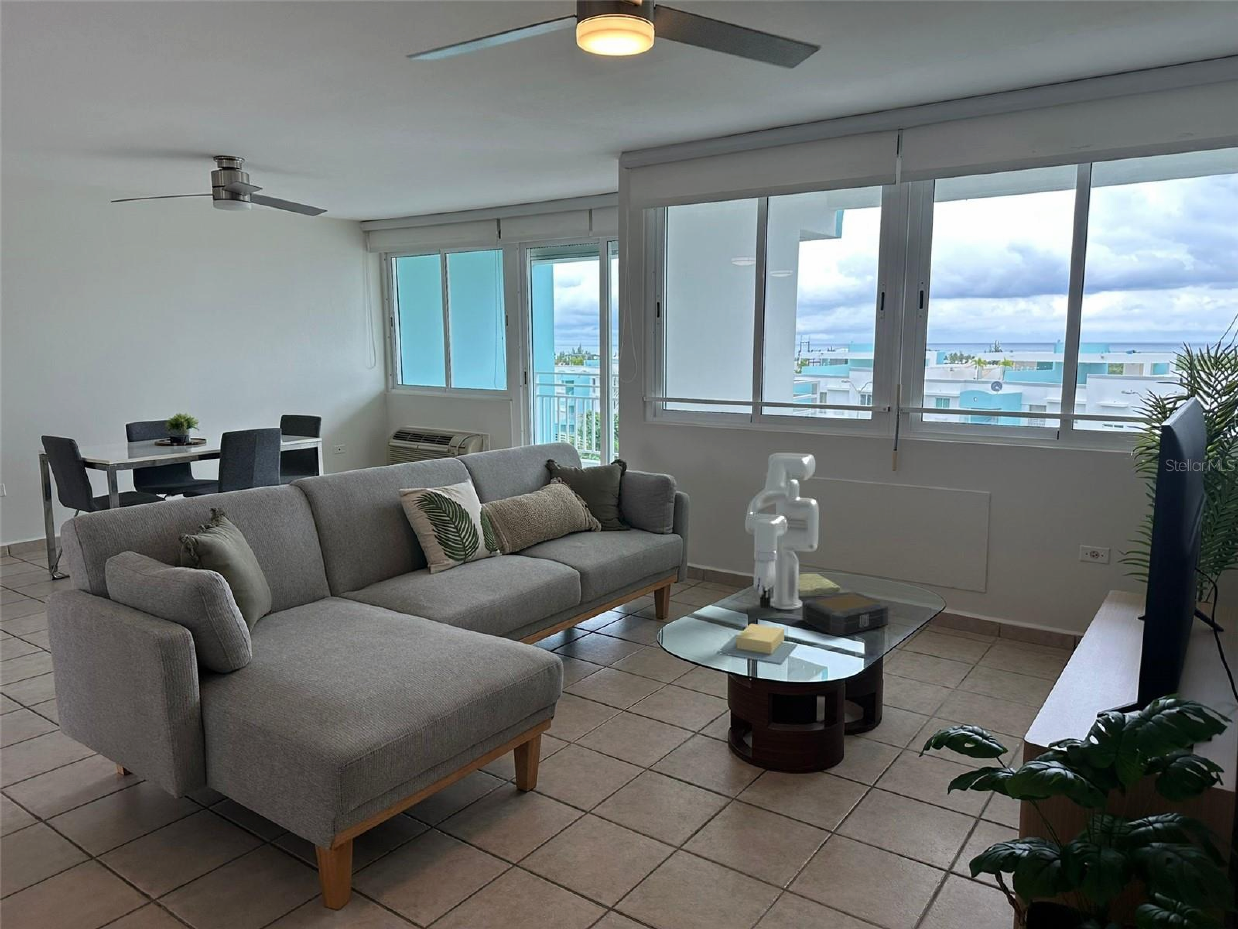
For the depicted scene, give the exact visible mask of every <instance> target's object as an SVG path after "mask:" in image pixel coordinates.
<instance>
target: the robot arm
mask: <svg viewBox="0 0 1238 929" xmlns="http://www.w3.org/2000/svg"><path fill="white" fill-rule="evenodd" d="M767 462H768V463H767V464H768V471H767V476H766V479H765V480H766V481H765V487H764V489H763V490H761V491H760V492H759V493H757V494H756V496H754V497H753V498H752V500H751V501H750V502H749V504H748V508H747V511H746V515H745V516H746V517H745V522H744V525H745V527H744V529H745V531H746V532H747V533H748V534H750V535H753V536H754V551H753V552H754V554H753V555H754V558H753V560H755V563H754V571H753V589H754V590H757V589H758V595H759V607H760V608H761V609H762V608H763V609H770V608H771V607H773V608H774V609H779V610H780V609H781V610H798V609H800V608H801V607H802V606H803V601H802V600H801V599H799V596H798V585H799V575H800V574H799V569H800V568H799V567H800V566H799V565H800V563H799V558H798V556H797V555H796V554H795V552H814V551H816V550H817V548H818V545H819V525H820V524H819V521H820V520H819V519H820V517H819V515H820V514H819V513H820V508H819V504H818V501H817V500H816V499H813V498H810V497H800V483H799V481H807V480H809V479H810V478H811V477H812V476H813V475H814V473H815V470H816V460H815V457H814V455H812V454H811V453H798V452H797V453H795V452H775V453H772V454H770V455H769V457H768V461H767ZM774 504H776V506H775V507H776V508H775V513H776V514H770V513H759V511H761V510H762V509H764V508H766V507H768V506H771V505H774ZM788 523H799V524H801V523H802V524H805V525H804V526H802V525H793V524H791V525H789V524H788ZM772 587H773V598H772V597H771V595H772Z"/></svg>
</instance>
